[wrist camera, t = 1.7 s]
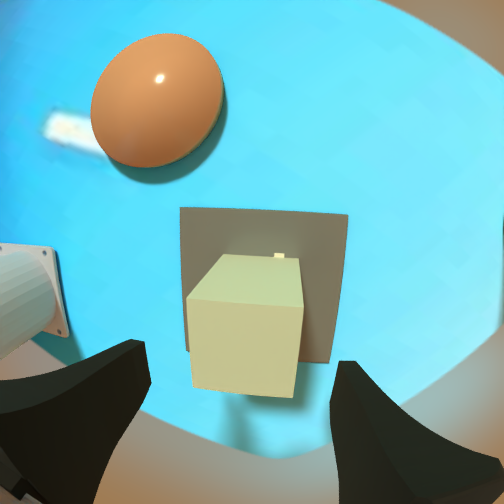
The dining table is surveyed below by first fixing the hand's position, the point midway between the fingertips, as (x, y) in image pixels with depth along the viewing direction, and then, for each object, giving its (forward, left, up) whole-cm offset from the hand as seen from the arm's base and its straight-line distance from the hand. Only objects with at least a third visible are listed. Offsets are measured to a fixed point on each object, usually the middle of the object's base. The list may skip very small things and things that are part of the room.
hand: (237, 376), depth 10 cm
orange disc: (-7, +12, -9) cm, 16 cm away
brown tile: (0, 0, -9) cm, 9 cm away
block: (0, 0, -9) cm, 9 cm away
